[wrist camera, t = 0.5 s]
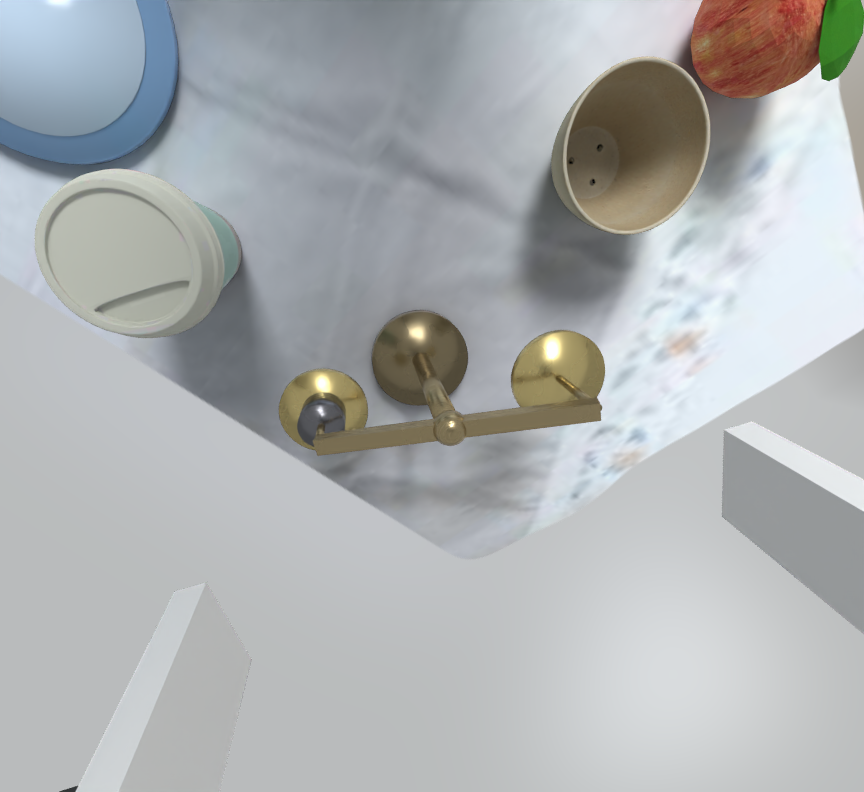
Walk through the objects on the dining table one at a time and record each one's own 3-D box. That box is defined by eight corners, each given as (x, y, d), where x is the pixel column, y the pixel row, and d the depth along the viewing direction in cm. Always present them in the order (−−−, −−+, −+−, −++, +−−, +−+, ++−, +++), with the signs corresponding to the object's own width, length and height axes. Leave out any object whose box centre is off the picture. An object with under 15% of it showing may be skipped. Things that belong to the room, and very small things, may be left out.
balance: (279, 341, 37) (219, 430, 21) (533, 282, 38) (655, 324, 22) (309, 428, 40) (276, 563, 24) (543, 370, 41) (656, 462, 25)
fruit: (747, -67, 31) (909, -187, 22) (791, 66, 35) (947, 10, 26) (644, 22, 32) (758, -58, 23) (697, 143, 36) (814, 115, 27)
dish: (-169, -115, 24) (-194, -131, 23) (112, -159, 25) (101, -177, 24) (-11, 185, 30) (-25, 184, 29) (214, 140, 31) (208, 137, 30)
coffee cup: (132, 289, 34) (19, 322, 23) (141, 167, 31) (20, 136, 20) (251, 318, 36) (202, 362, 25) (270, 206, 33) (224, 197, 22)
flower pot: (561, 257, 38) (604, 265, 31) (500, 143, 34) (534, 124, 27) (665, 183, 37) (732, 175, 30) (614, 58, 33) (678, 16, 26)
